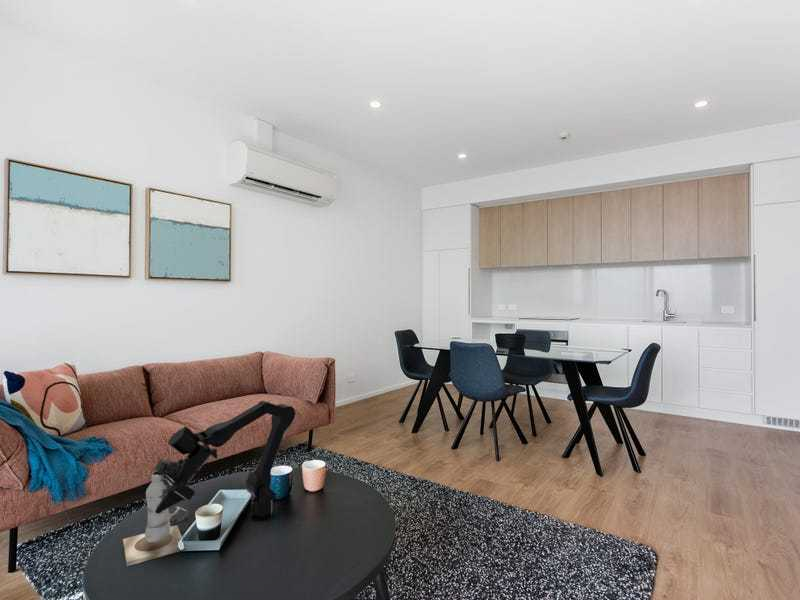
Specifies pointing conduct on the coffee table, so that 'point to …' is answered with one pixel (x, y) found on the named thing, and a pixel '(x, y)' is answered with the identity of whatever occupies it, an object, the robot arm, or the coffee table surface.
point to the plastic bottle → (156, 522)
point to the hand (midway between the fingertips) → (153, 509)
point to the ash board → (150, 547)
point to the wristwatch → (174, 511)
